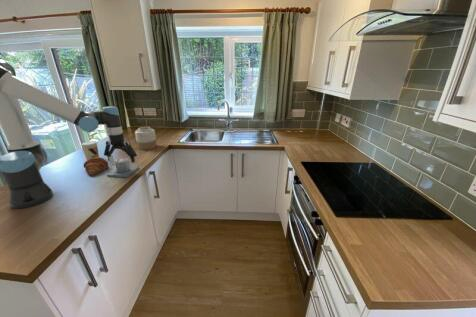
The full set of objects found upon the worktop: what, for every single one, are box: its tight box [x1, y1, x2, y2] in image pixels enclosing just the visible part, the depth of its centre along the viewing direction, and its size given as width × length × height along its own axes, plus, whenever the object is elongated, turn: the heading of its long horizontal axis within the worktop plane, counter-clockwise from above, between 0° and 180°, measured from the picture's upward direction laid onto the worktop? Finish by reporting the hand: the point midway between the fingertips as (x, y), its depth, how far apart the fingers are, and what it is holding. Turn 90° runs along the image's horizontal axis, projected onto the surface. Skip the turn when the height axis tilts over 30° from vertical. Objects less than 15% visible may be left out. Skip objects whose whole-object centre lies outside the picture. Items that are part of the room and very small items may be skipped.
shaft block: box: [106, 158, 140, 179], centre depth 128 cm, size 14×12×8 cm
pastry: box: [83, 157, 109, 177], centre depth 132 cm, size 17×15×8 cm
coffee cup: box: [80, 140, 100, 161], centre depth 148 cm, size 9×9×12 cm
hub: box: [114, 157, 131, 173], centre depth 128 cm, size 7×7×7 cm
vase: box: [134, 126, 158, 151], centre depth 173 cm, size 15×15×17 cm
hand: (122, 166), depth 128 cm, fingers open, 13 cm apart
